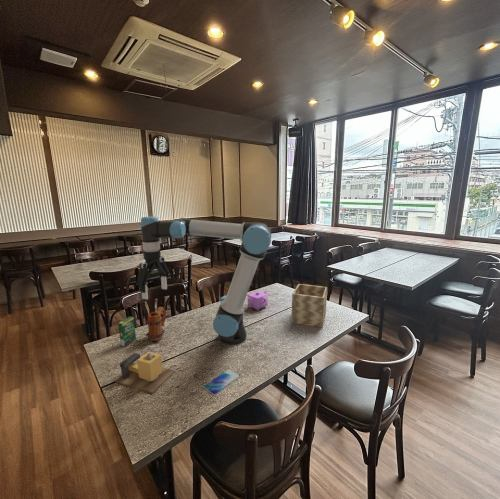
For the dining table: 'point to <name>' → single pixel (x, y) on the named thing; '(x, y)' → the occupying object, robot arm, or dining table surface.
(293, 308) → the planter
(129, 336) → the coffee box
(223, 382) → the smartphone
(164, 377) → the base
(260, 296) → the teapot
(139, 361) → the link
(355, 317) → the dining table surface
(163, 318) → the mug
